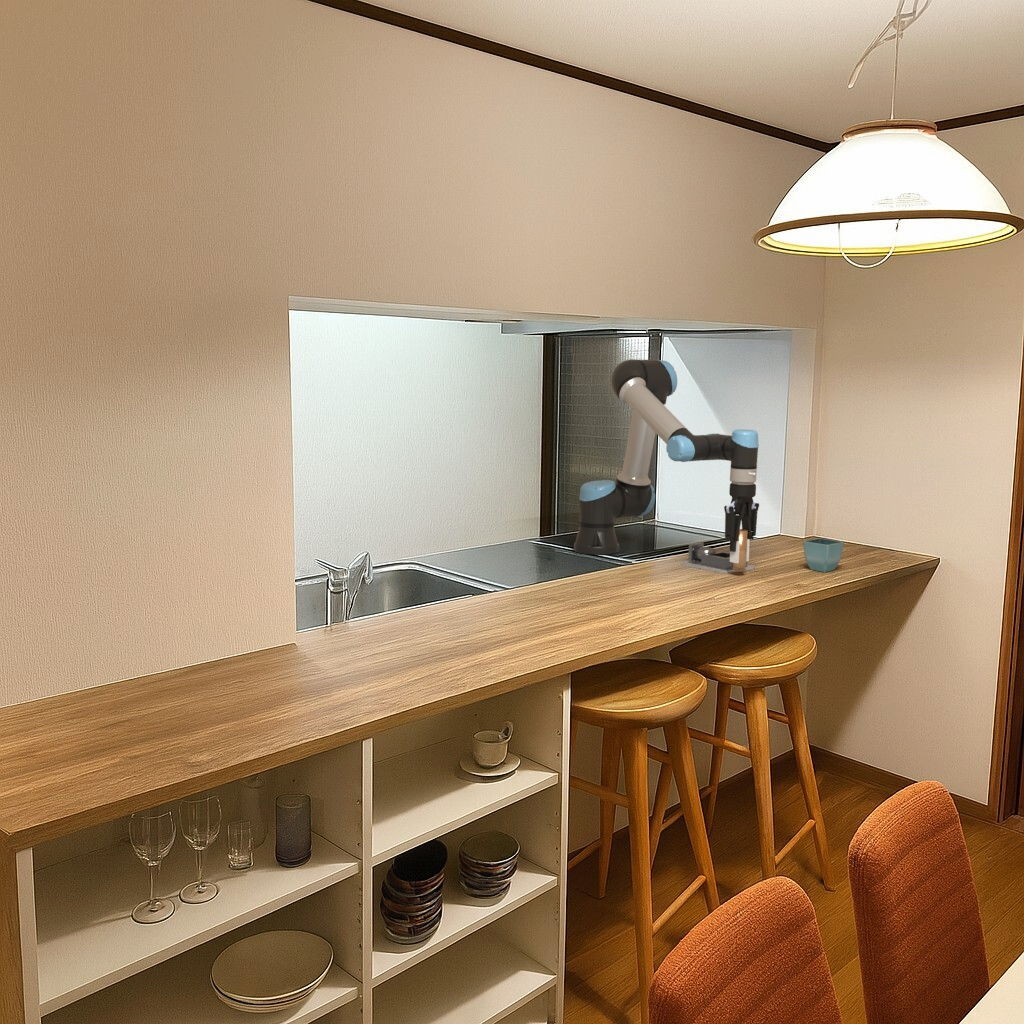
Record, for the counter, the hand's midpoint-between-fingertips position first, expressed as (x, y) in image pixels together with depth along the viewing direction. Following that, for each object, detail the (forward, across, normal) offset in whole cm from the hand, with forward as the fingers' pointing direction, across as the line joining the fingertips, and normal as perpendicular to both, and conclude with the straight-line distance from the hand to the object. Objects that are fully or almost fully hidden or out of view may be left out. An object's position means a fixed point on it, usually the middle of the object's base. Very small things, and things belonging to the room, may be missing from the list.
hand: (739, 561), depth 288 cm
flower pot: (+4, +26, -11) cm, 28 cm away
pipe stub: (+3, 0, 0) cm, 3 cm away
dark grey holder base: (+4, +5, +12) cm, 14 cm away
